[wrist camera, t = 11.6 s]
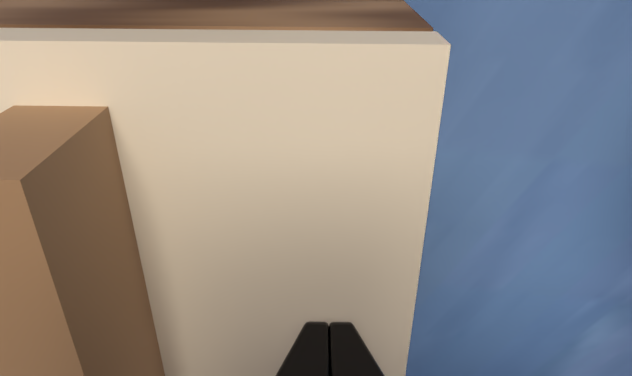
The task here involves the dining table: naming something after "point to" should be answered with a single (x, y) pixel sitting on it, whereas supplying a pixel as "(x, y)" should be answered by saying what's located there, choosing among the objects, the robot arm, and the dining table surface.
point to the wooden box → (214, 14)
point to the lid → (210, 195)
